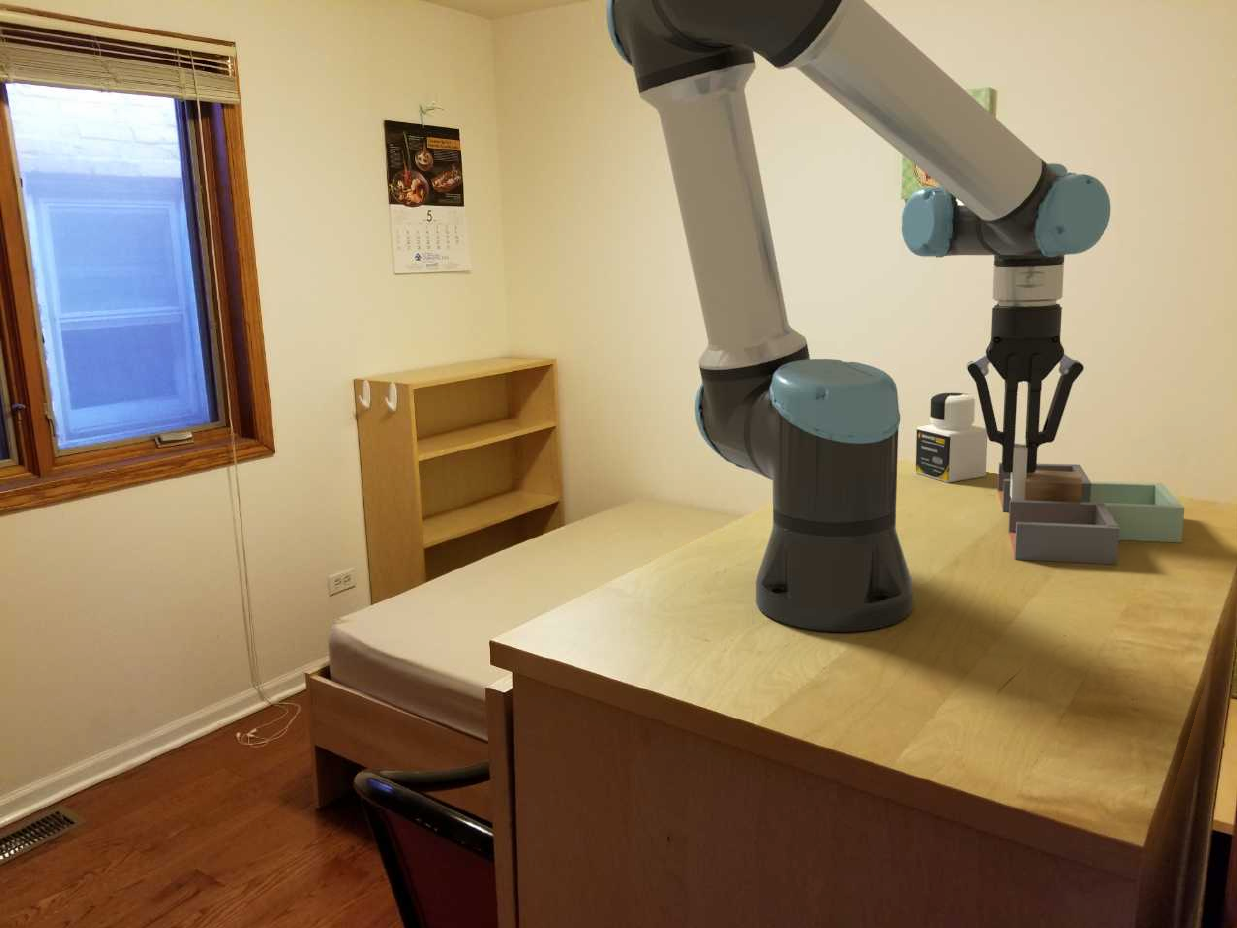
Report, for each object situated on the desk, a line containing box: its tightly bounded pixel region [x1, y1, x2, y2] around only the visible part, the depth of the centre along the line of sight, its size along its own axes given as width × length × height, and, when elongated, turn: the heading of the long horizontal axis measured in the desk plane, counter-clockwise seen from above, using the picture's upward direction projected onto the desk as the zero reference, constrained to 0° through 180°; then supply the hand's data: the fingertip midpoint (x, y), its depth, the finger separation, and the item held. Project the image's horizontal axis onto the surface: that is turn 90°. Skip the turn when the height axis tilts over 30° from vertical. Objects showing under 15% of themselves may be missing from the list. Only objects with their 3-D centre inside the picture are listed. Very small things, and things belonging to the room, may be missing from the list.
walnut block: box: [1025, 470, 1082, 502], centre depth 116 cm, size 6×6×6 cm
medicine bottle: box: [915, 392, 988, 484], centre depth 141 cm, size 7×7×12 cm
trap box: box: [997, 462, 1185, 565], centre depth 116 cm, size 18×29×4 cm, turn 163°
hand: (1017, 497), depth 118 cm, fingers closed
